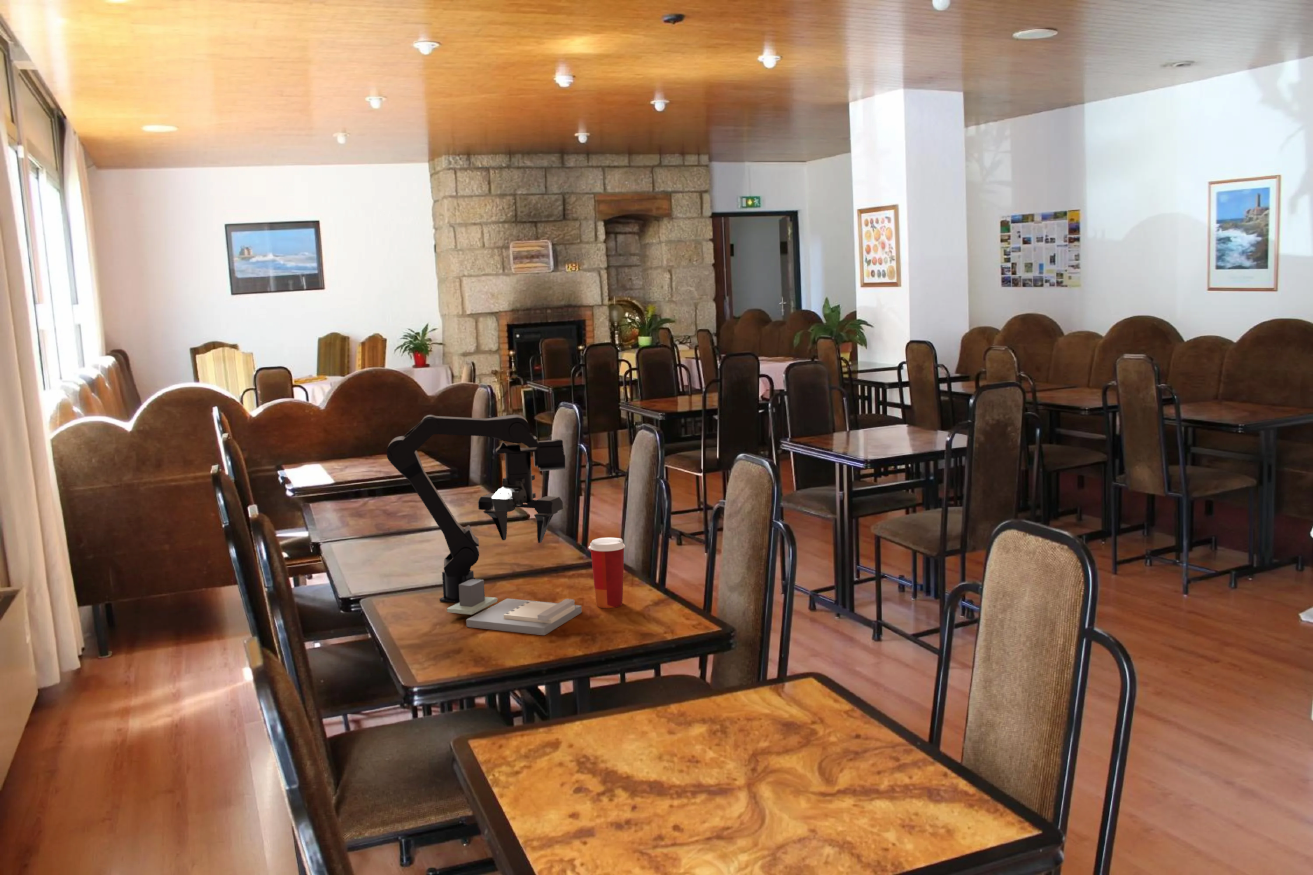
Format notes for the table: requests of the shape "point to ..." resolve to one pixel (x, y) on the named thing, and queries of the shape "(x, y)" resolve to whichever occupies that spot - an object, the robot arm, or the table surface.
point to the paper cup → (608, 571)
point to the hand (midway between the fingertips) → (521, 541)
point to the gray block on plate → (471, 598)
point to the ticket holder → (525, 616)
